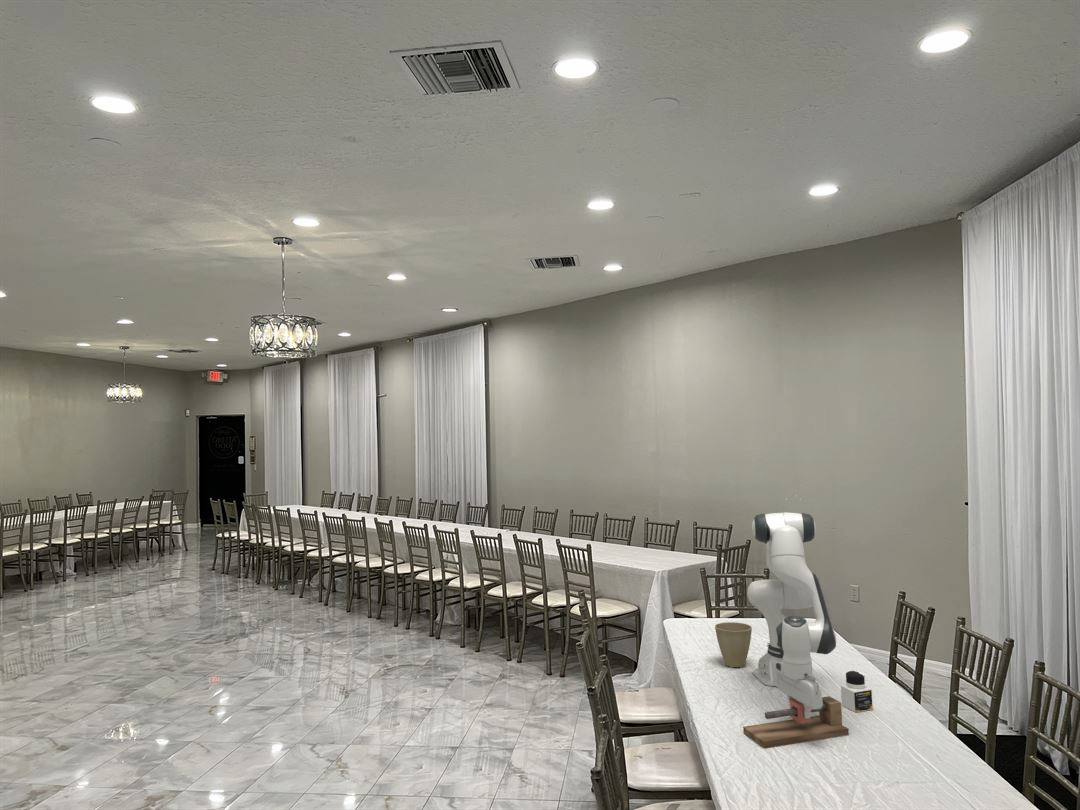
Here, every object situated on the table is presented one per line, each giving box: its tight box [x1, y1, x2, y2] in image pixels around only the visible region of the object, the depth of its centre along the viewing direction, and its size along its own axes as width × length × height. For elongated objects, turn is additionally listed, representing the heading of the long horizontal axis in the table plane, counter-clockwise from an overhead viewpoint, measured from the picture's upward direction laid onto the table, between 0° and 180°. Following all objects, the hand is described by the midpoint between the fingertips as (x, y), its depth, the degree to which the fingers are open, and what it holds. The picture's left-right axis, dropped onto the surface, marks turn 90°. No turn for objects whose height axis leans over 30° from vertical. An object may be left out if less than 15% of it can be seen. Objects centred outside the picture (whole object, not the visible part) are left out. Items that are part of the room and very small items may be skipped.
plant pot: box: [714, 621, 753, 668], centre depth 297 cm, size 15×15×16 cm
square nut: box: [788, 699, 810, 724], centre depth 228 cm, size 6×4×6 cm, turn 14°
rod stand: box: [742, 695, 850, 749], centre depth 228 cm, size 12×30×9 cm, turn 104°
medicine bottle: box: [840, 670, 874, 713], centre depth 247 cm, size 7×7×12 cm
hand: (800, 713), depth 228 cm, fingers closed on square nut, 6 cm apart
